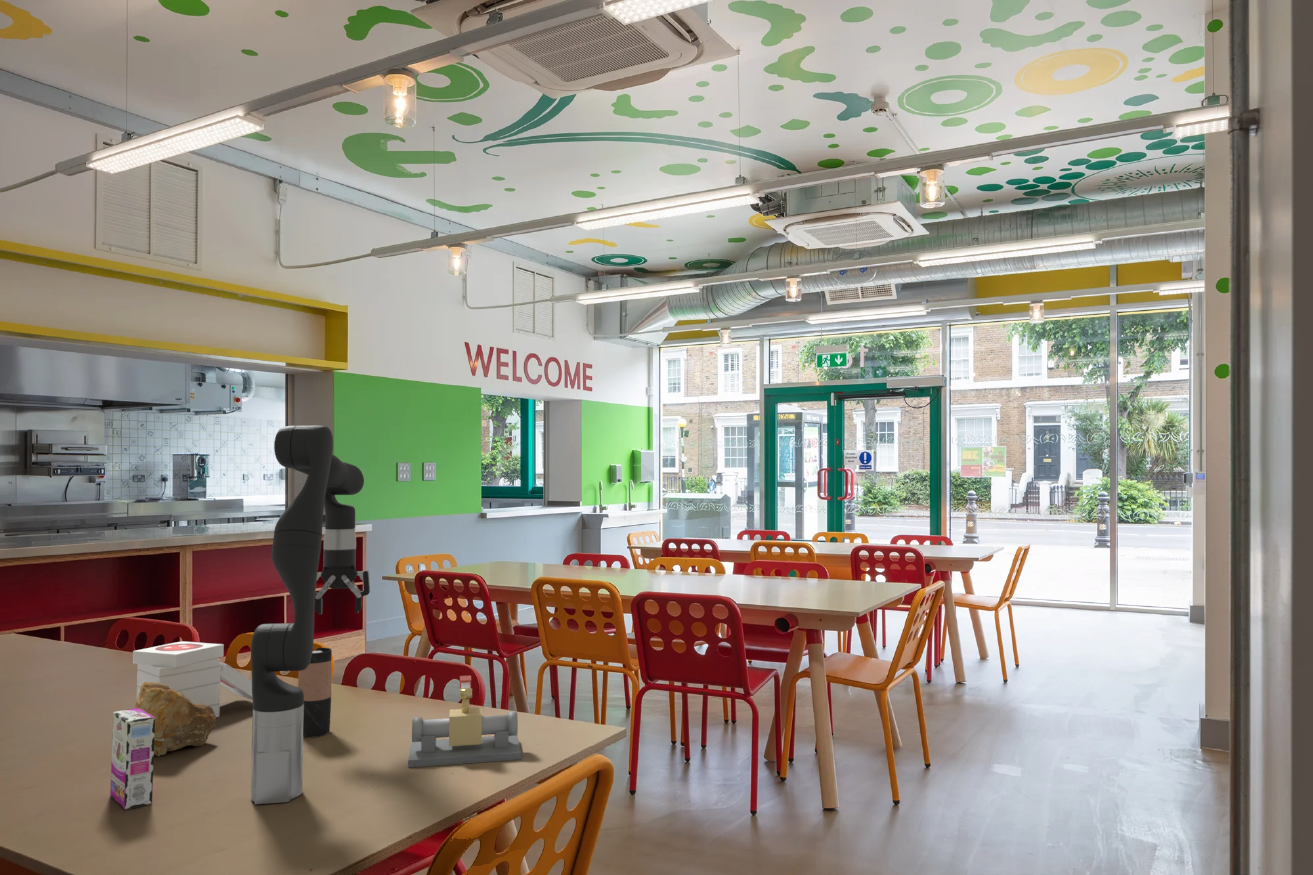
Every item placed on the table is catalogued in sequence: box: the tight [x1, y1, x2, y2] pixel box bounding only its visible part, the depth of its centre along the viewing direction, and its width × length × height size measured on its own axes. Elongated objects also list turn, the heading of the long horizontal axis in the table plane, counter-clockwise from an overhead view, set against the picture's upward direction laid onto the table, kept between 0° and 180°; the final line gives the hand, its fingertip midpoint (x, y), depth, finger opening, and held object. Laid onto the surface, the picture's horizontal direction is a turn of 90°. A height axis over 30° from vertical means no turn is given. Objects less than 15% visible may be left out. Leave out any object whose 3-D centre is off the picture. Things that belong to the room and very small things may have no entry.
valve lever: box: [458, 675, 473, 700], centre depth 204 cm, size 16×3×2 cm, turn 12°
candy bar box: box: [109, 707, 155, 811], centre depth 170 cm, size 11×5×16 cm, turn 45°
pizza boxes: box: [132, 641, 253, 718], centre depth 234 cm, size 19×30×18 cm, turn 139°
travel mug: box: [297, 647, 333, 738], centre depth 215 cm, size 8×8×20 cm
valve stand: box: [407, 698, 522, 768], centre depth 198 cm, size 14×24×12 cm, turn 102°
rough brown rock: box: [134, 682, 217, 757], centre depth 204 cm, size 23×17×15 cm
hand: (338, 613), depth 216 cm, fingers open, 8 cm apart
